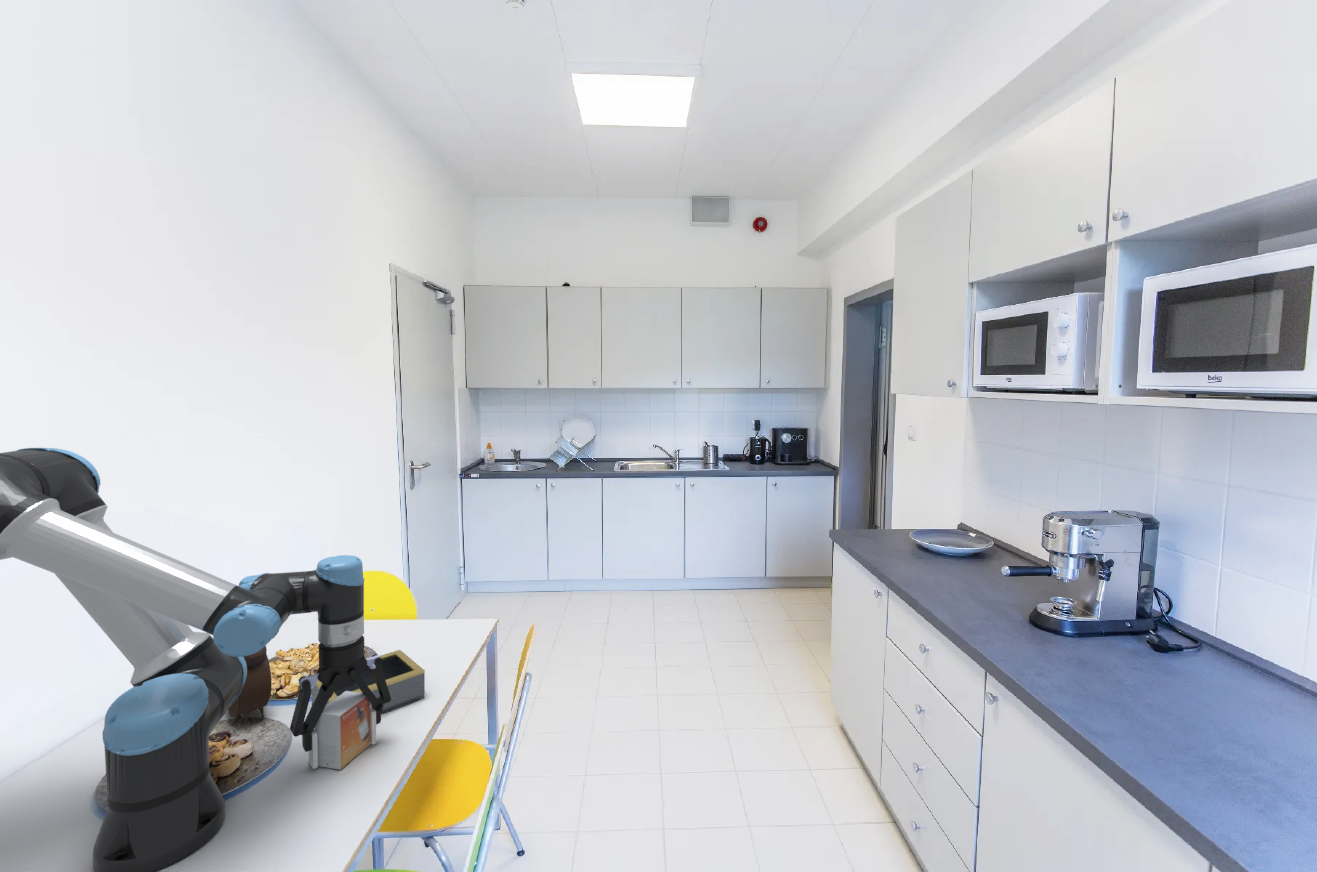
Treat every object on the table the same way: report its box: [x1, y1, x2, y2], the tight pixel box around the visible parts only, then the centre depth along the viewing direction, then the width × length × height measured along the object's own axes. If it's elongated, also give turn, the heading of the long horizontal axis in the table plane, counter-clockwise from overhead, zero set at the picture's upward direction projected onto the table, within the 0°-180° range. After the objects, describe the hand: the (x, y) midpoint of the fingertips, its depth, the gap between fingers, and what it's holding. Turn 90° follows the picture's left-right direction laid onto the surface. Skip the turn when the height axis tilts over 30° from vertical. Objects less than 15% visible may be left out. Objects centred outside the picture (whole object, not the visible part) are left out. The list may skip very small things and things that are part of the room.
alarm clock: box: [227, 645, 273, 725], centre depth 117 cm, size 14×7×20 cm, turn 50°
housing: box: [311, 649, 426, 716], centre depth 124 cm, size 19×14×7 cm
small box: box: [314, 691, 371, 771], centre depth 105 cm, size 8×6×10 cm
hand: (343, 752), depth 106 cm, fingers closed on small box, 9 cm apart
